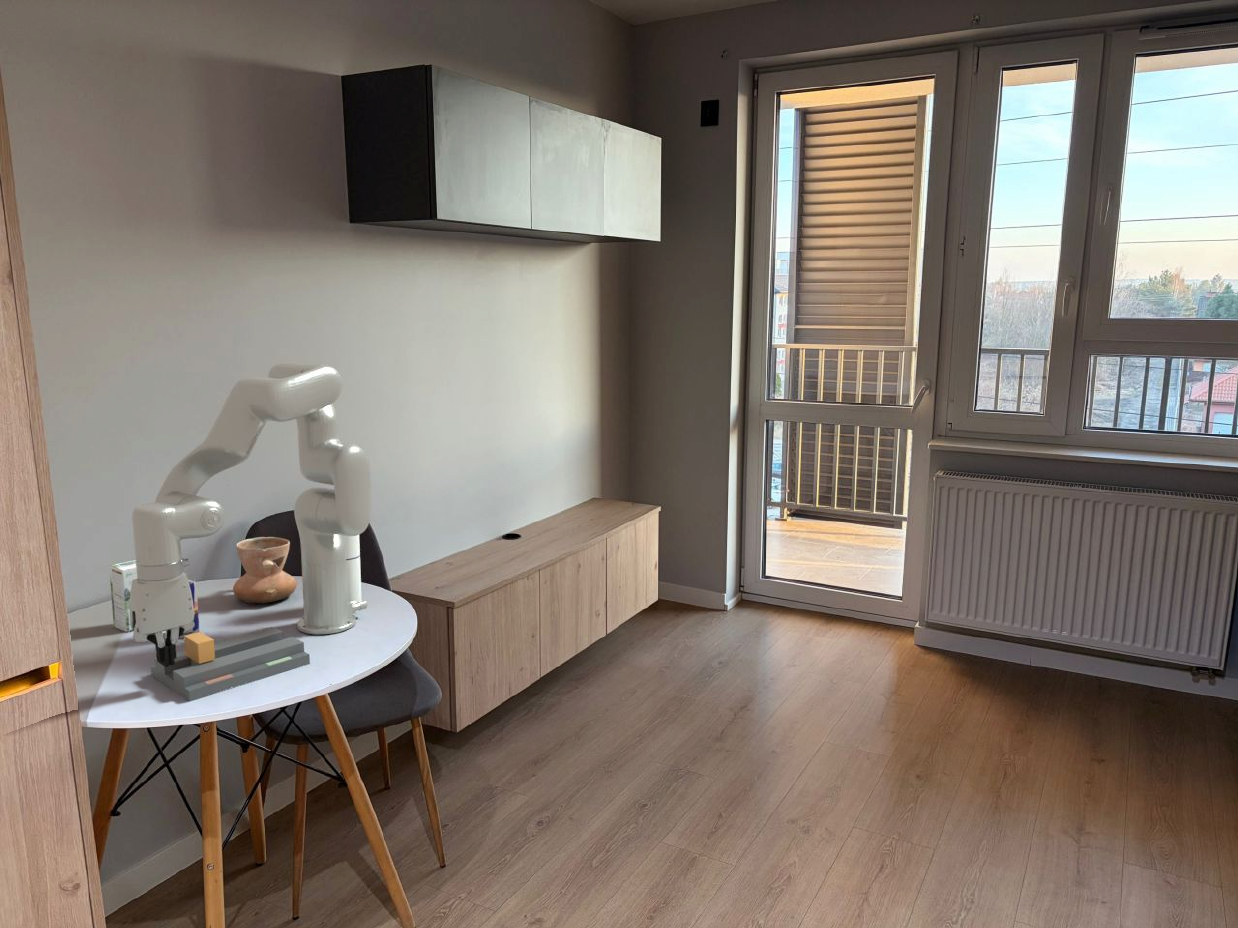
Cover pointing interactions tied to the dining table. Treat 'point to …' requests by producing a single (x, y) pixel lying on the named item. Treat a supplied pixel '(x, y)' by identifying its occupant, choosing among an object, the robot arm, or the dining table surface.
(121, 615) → the syrup box
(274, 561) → the ceramic jug
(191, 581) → the energy drink
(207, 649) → the switch knob
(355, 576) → the cylindrical container
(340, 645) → the dining table surface
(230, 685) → the grey slotted track
